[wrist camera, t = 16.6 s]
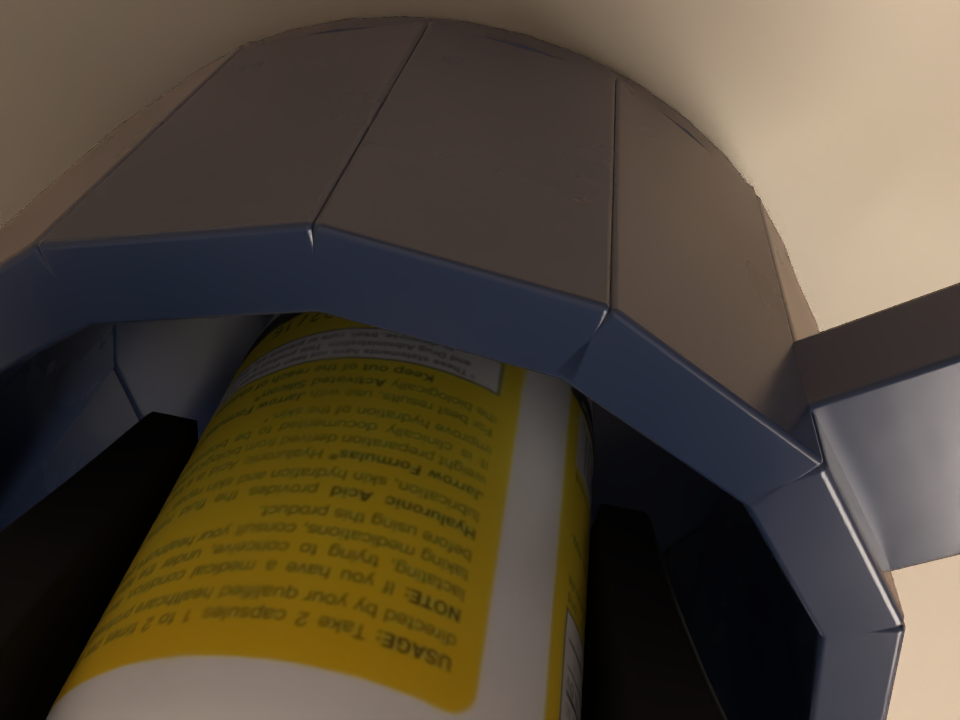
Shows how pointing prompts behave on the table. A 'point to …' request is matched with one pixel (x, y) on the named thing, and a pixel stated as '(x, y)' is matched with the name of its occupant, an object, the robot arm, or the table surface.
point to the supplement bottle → (360, 545)
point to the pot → (509, 318)
